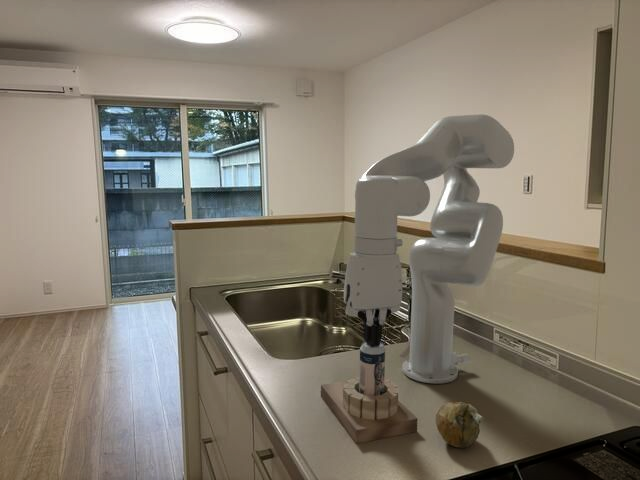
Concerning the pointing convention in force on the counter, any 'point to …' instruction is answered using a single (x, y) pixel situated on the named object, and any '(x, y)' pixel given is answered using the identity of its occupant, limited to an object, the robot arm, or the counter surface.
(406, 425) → the board
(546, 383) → the counter surface
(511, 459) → the counter surface
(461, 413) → the onion
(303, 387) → the counter surface
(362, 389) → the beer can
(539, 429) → the counter surface
